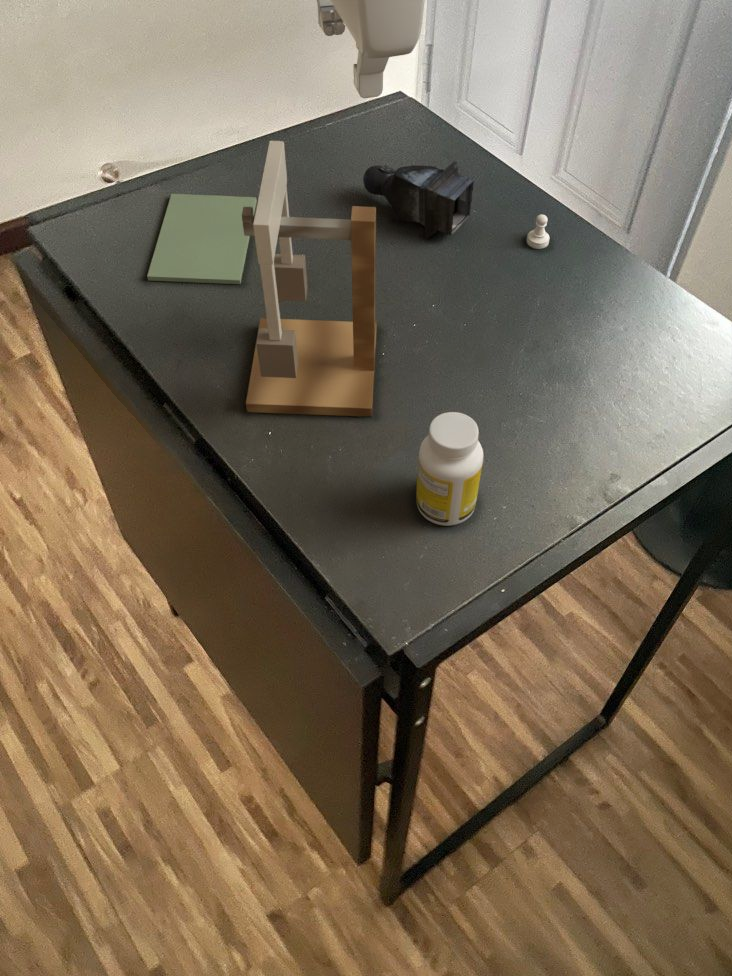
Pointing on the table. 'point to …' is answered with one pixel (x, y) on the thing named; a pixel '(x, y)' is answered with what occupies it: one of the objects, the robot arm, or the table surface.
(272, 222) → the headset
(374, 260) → the stand
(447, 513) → the supplement bottle
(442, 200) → the dark knob-ended part
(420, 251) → the table surface
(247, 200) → the mat
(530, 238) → the chess pawn
